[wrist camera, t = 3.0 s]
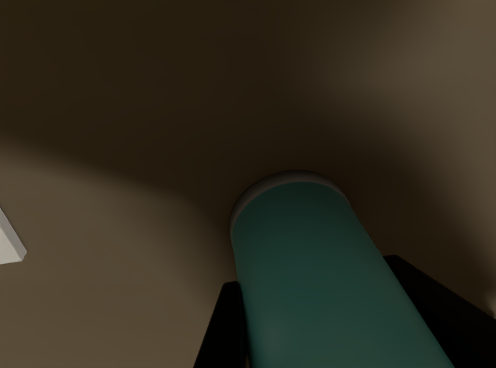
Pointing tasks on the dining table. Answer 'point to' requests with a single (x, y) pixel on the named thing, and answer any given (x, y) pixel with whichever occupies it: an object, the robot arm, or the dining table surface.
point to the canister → (320, 283)
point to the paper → (9, 242)
